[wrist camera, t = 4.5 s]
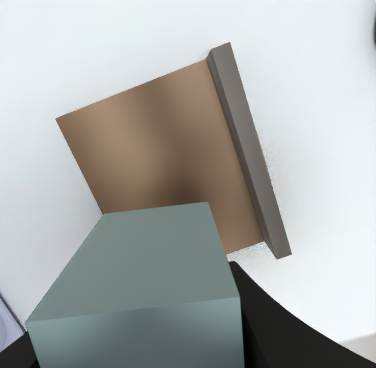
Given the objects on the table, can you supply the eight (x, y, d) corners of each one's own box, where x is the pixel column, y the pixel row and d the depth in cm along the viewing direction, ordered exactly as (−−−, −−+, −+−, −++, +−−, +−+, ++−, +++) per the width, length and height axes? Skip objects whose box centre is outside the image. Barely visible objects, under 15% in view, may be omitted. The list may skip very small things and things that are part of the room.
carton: (127, 326, 13) (86, 503, 7) (104, 213, 11) (24, 322, 5) (220, 315, 13) (256, 482, 7) (210, 201, 11) (245, 296, 5)
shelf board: (139, 278, 20) (132, 309, 17) (60, 118, 17) (33, 119, 14) (275, 230, 20) (294, 253, 17) (222, 54, 16) (233, 40, 13)
